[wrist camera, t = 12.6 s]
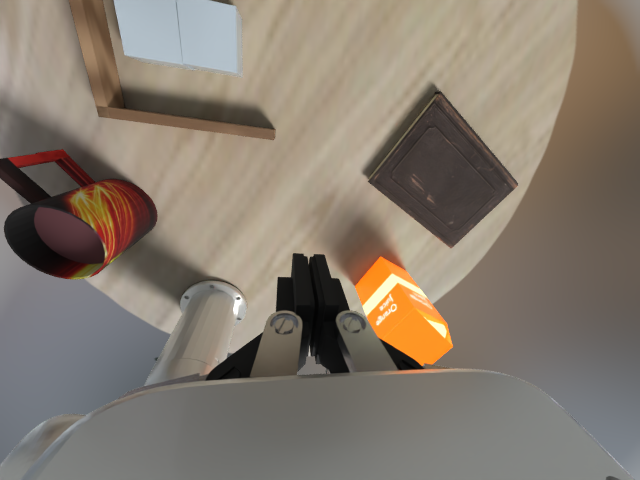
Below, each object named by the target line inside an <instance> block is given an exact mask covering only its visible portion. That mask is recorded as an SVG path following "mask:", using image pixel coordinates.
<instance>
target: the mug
mask: <svg viewBox="0 0 640 480" xmlns="http://www.w3.org/2000/svg"><path fill="white" fill-rule="evenodd" d="M54 161H55V162H56V163H57V164H58V165H59V166H60V167H61V168H62V169H63V170H64V171H65V172H66V173H67V174H68V175H69V176H70V177H71V178H72V179H74V180H75V181H76V182H77V183H78V184H79V185H80V186H81V188H78V189H75V190H72V191H69V192H66V193H63V194H60V195H57V196H54V197H51V196H50V195H49V194H47V193H46V192H45V191H44V190H43V189H42V188H41V187H39V186H38V185H37V184H36V183H35V182H34V181H33V180H31V179H30V178H29V177H28V176H27V175H26V174H25V173H23V172H22V171H21V170H20V169H19V168H21V167H26V166H32V165H37V164H43V163H48V162H54ZM0 178H1V179H2V180H3V181H4V182H5V183H7V184H8V185H9V186H10V187H11V188H13V189H14V190H15V191H16V192H17V193H19V194H20V195H21V196H22V197H24V198H25V199H26V200H27V201H28V202H30V203H31V204H29V205H26V206H23V207H20V208H18V209H16V210H15V211H13V212H12V213H11V214H10V215H9V216H8V217H7V219H6V221H5V225H4V232H5V237H6V239H7V242H8V244H9V245H10V247H11V248H12V249H13V251H14V252H15V253H16V254H17V255H18V256H19V257H20V258H21V259H22V260H23V261H25V262H26V263H27V264H29V265H30V266H32V267H34V268H36V269H37V270H39V271H41V272H44V273H46V274H49V275H52V276H55V277H59V278H65V279H84V278H89V277H92V276H94V275H96V274H98V273H99V272H100V271H101V270H103V269H104V268H105V267H106V266H108V265H109V264H110V263H111V262H113V261H114V260H115V259H116V258H118V257H119V256H120V255H121V254H122V253H124V252H125V251H126V250H127V249H129V248H130V247H131V246H132V245H134V244H135V243H136V242H137V241H138V240H140V239H141V238H142V237H143V236H145V235H146V234H147V233H148V232H150V231H151V230H152V229H153V228H154V226H155V225H156V222H157V210H156V207H155V204H154V203H153V201H152V199H151V198H150V197H149V196H148V195H147V194H146V193H145V192H144V191H143V190H142V189H140V188H139V187H137V186H136V185H134V184H132V183H130V182H127V181H123V180H119V179H106V180H102V181H99V182H95V181H94V180H93V179H92V178H91V177H90V176H89V175H88V174H87V173H86V172H85V171H84V170H83V169H82V168H81V167H80V166H78V165H77V164H76V163H75V162H74V161H73V160H72V159H71V158H70V156H69V155H68V154H67V153H66V152H65V151H64V150H63V149H62V150H54V151H47V152H40V153H36V154H32V155H25V156H17V157H10V158H3V159H0Z"/></svg>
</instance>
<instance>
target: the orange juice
mask: <svg viewBox="0 0 640 480" xmlns="http://www.w3.org/2000/svg"><path fill="white" fill-rule="evenodd" d="M355 288H356V290H357V293H358V295H359V298H360V300H361V303H362V306H363V309H364V311H365V314H366V316H367V318H368V321H369V323H370V324H371V326H372V328H373V329H374V331H375V333H376V334H377V336H378V337H379V338H381V339H382V340H384V341H385V342H387V343H389V344H390V345H392V346H394V347H395V348H397V349H398V350H400V351H402V352H403V353H405V354H407V355H408V356H410V357H412V358H413V359H415V360H416V361H417V362H419V363H420V365H421V366H423V364H424V363H427V364H433V363H434V362H435V361H436V360H438V359H439V358H440V357H441V356H442V355H444V354H445V353H446V352H447V351H448V350H450V349H451V348H452V347H453V346H452V342H451V338H450V335H449V331H448V327H447V324H446V322H445V321H444V320H443V318H442V317H441V316H440V314H439V313H438V312H437V310H436V309H435V308H434V306H433V305H432V304H431V303H430V301H429V300H428V299H427V297H426V296H425V294H424V293H423V292H422V290H421V289H420V288H419V287H418V286H417V284H416V283H415V282H414V281H413V279H412V278H411V277H410V275H409V274H408V273H407V271H405V270H403V269H402V268H400V267H398V266H396V265H395V264H393V263H391V262H389V261H388V260H386V259H384V258H382V257H381V256H380V258H379V259H378V260H377V261H376V262H375V263H374V265H373V266H372V267H371V268H370V269H369V270H368V272H367V273H366V274H365V275H364V276H363V278H362V279H361V280H360V281H359V282H358V283H357V285H356V286H355Z"/></svg>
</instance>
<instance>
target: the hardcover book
mask: <svg viewBox="0 0 640 480" xmlns="http://www.w3.org/2000/svg"><path fill="white" fill-rule="evenodd" d="M435 94H436V95H435V96H434V97H433V99H432V100H431V101H430V102H429V104H428V105H427V106H426V107H425V109H424V110H423V111H422V112H421V114H420V115H419V116H418V117H417V119H416V120H415V121H414V122H413V124H412V125H411V126H410V127H409V129H408V130H407V131H406V132H405V134H404V135H403V136H402V137H401V139H400V140H399V141H398V142H397V144H396V145H395V146H394V147H393V149H392V150H391V151H390V152H389V154H388V155H387V156H386V157H385V159H384V160H383V161H382V162H381V164H380V165H379V166H378V167H377V169H376V170H375V171H374V172H373V174H372V175H371V176H370V177H369V181H368V182H369V183H370V184H372V185H373V186H374V187H375V188H377V189H378V190H379V191H380V192H382V193H383V194H384V195H385V196H386V197H388V198H389V199H390V200H391V201H393V202H394V203H395V204H396V205H398V206H399V207H400V208H401V209H403V210H404V211H405V212H406V213H408V214H409V215H410V216H411V217H413V218H414V219H415V220H416V221H417V222H419V223H420V224H421V225H422V226H424V227H425V228H426V229H427V230H429V231H430V232H431V233H432V234H434V235H435V236H436V237H437V238H439V239H440V240H441V241H442V242H444V243H445V244H446V245H447V246H448V247H450V248H452V247H453V246H454V245H456V244H457V243H458V242H459V241H460V240H461V239H462V238H463V237H464V236H465V235H466V234H467V233H468V232H469V231H470V230H471V229H472V228H474V227H475V226H476V225H477V224H478V223H479V222H480V221H481V220H482V219H483V218H484V217H485V216H486V215H487V214H488V213H489V212H490V211H492V210H493V209H494V208H495V207H496V206H497V205H498V204H499V203H500V202H501V201H502V200H503V199H504V198H505V197H506V196H507V195H508V194H510V193H511V192H512V191H513V190H514V189H515V188H516V187H517V186H518V183H517V182H516V180H515V179H514V178H513V177H512V176H511V174H510V173H509V172H508V171H507V170H506V168H505V167H504V166H503V165H502V164H501V163H500V161H499V160H498V159H497V158H496V157H495V155H494V154H493V153H492V152H491V151H490V149H489V148H488V147H487V146H486V145H485V144H484V142H483V141H482V140H481V139H480V138H479V136H478V135H477V134H476V133H475V132H474V130H473V129H472V128H471V127H470V126H469V125H468V123H467V122H466V121H465V120H464V119H463V117H462V116H461V115H460V114H459V113H458V111H457V110H456V109H455V108H454V107H453V106H452V104H451V103H450V102H449V101H448V100H447V98H446V97H445V96H444V95H443V94H442V92H441V91H439V92H435Z"/></svg>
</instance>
